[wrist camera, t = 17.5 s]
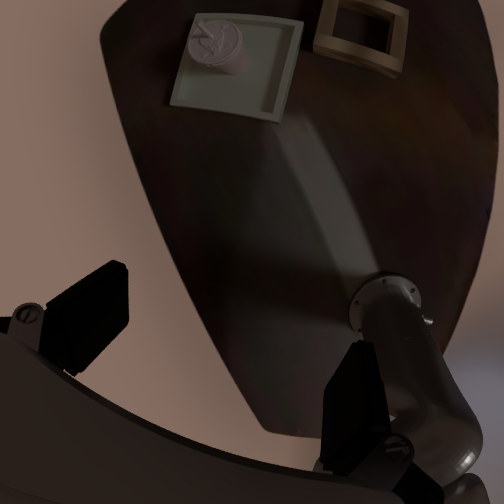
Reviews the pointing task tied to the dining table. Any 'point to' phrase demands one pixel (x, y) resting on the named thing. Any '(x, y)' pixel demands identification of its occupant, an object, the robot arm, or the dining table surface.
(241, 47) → the smoothie
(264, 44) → the tray
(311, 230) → the dining table surface
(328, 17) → the holder
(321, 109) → the dining table surface
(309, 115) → the dining table surface
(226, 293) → the dining table surface
